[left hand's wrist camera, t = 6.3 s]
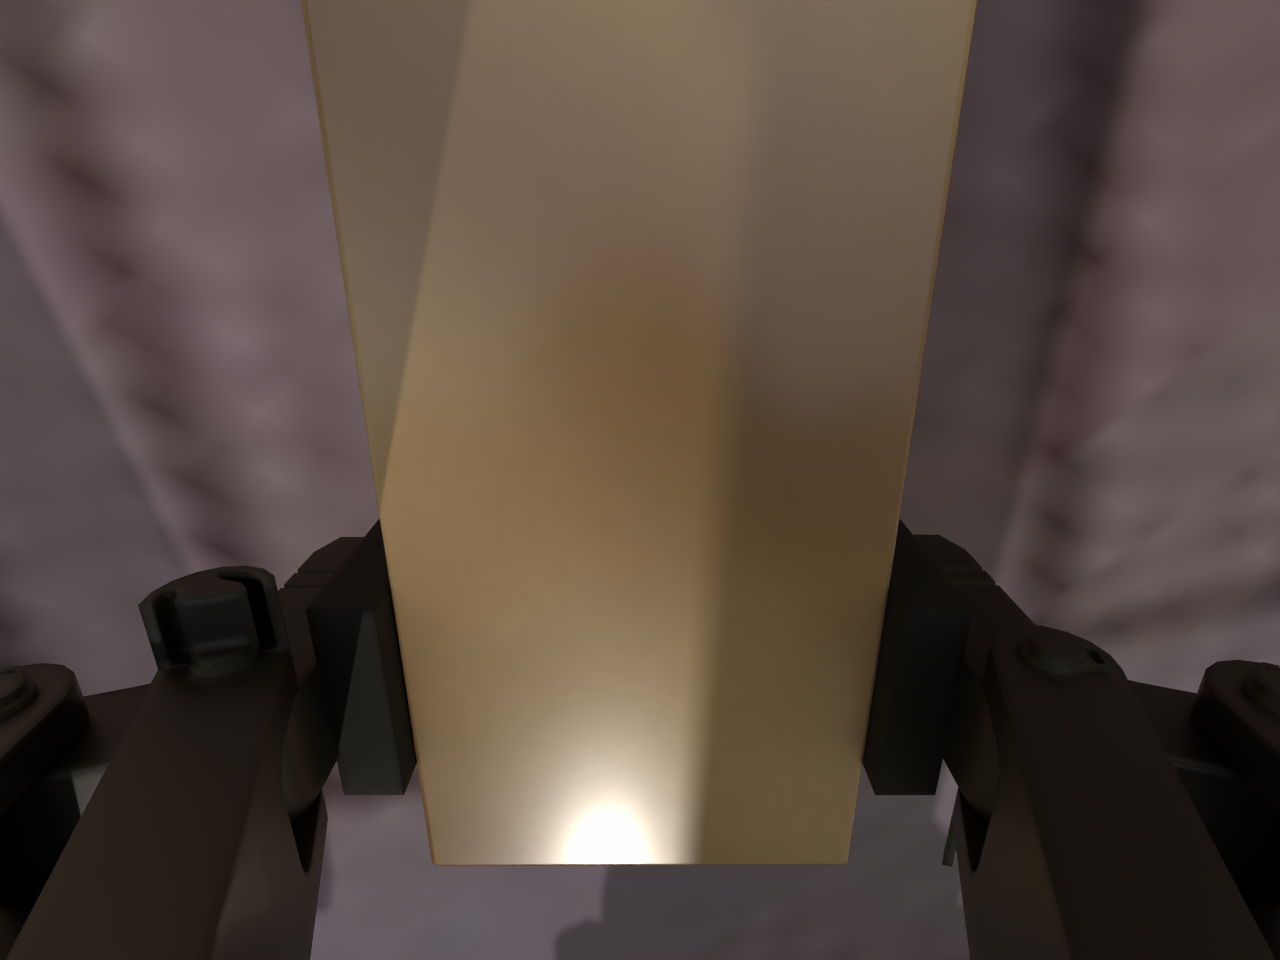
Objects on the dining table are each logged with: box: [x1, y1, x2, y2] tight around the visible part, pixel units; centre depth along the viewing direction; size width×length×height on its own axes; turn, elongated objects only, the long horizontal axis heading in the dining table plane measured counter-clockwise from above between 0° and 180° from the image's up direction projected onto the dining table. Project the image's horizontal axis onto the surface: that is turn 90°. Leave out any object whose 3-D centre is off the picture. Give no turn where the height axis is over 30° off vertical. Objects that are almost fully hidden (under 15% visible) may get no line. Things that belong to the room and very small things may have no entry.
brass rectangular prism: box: [301, 0, 977, 866], centre depth 10 cm, size 19×6×9 cm, turn 0°
